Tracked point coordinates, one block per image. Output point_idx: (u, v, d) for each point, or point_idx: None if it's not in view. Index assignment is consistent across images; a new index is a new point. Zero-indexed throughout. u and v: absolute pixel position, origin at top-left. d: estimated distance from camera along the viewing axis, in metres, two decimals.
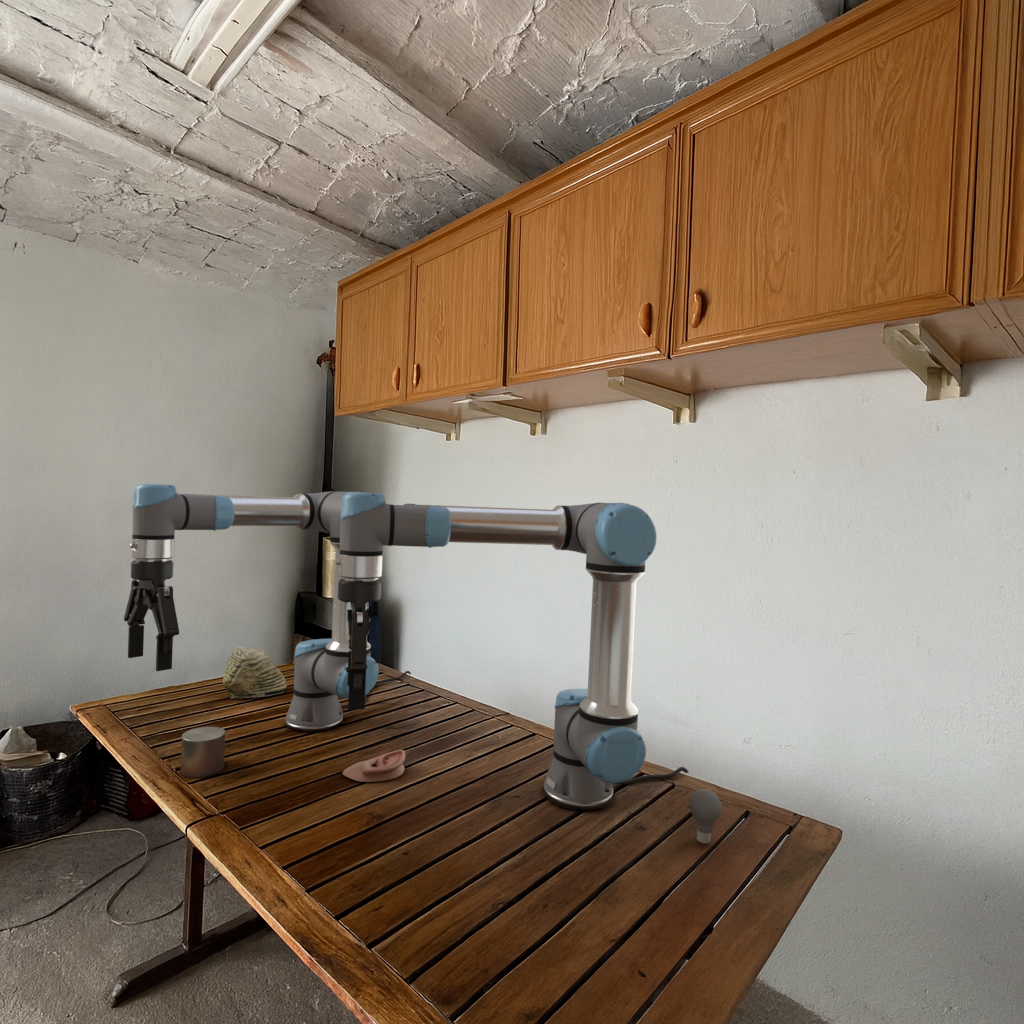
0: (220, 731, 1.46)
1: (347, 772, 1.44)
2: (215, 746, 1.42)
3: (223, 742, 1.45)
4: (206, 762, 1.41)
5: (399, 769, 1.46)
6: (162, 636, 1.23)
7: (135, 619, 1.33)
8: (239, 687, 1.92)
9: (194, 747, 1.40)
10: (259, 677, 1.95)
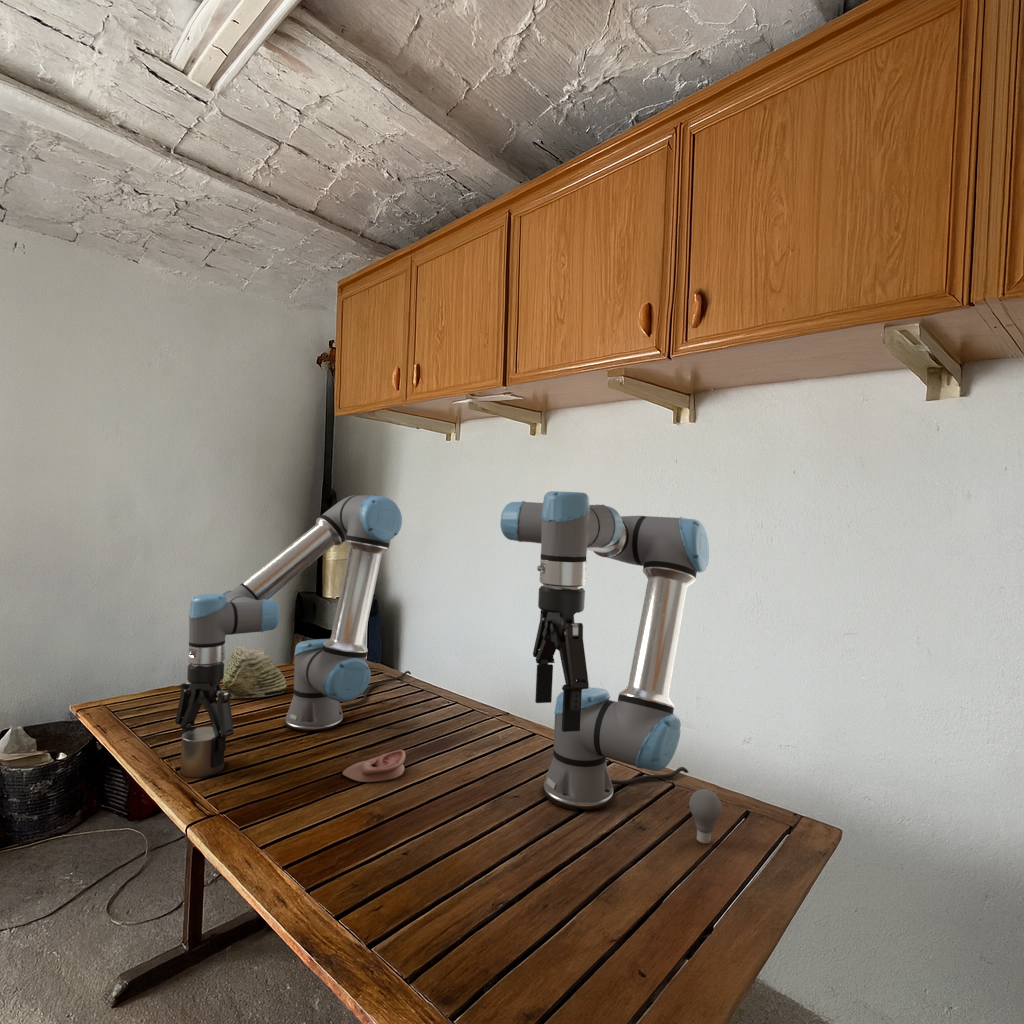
0: None
1: (347, 772, 1.44)
2: None
3: None
4: (206, 762, 1.41)
5: (399, 769, 1.46)
6: (218, 738, 1.41)
7: (189, 721, 1.46)
8: (239, 687, 1.92)
9: (194, 747, 1.40)
10: (259, 677, 1.95)
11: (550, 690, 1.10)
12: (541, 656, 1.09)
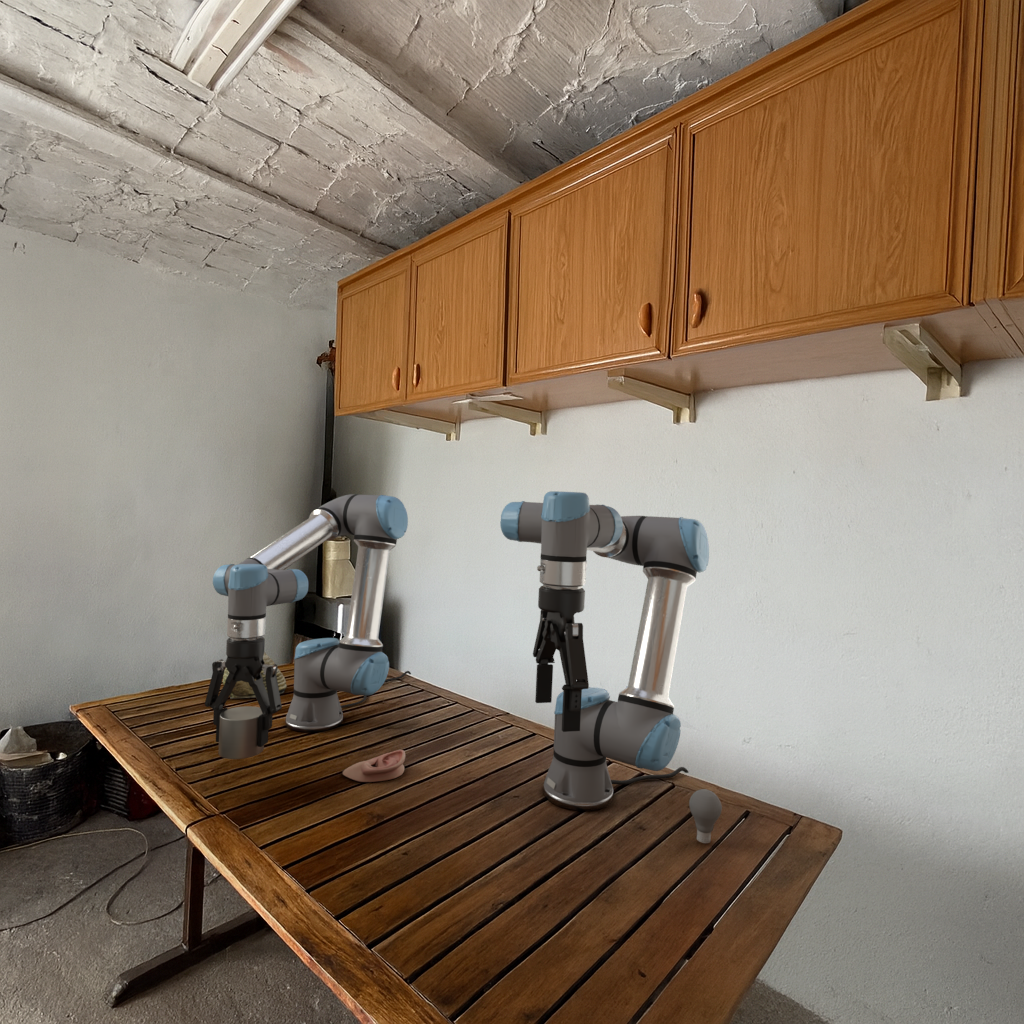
0: (258, 709, 1.38)
1: (347, 772, 1.44)
2: None
3: None
4: (253, 742, 1.32)
5: (399, 769, 1.46)
6: (267, 714, 1.33)
7: (222, 701, 1.35)
8: (239, 687, 1.92)
9: (241, 726, 1.31)
10: None
11: (550, 690, 1.10)
12: (541, 656, 1.09)
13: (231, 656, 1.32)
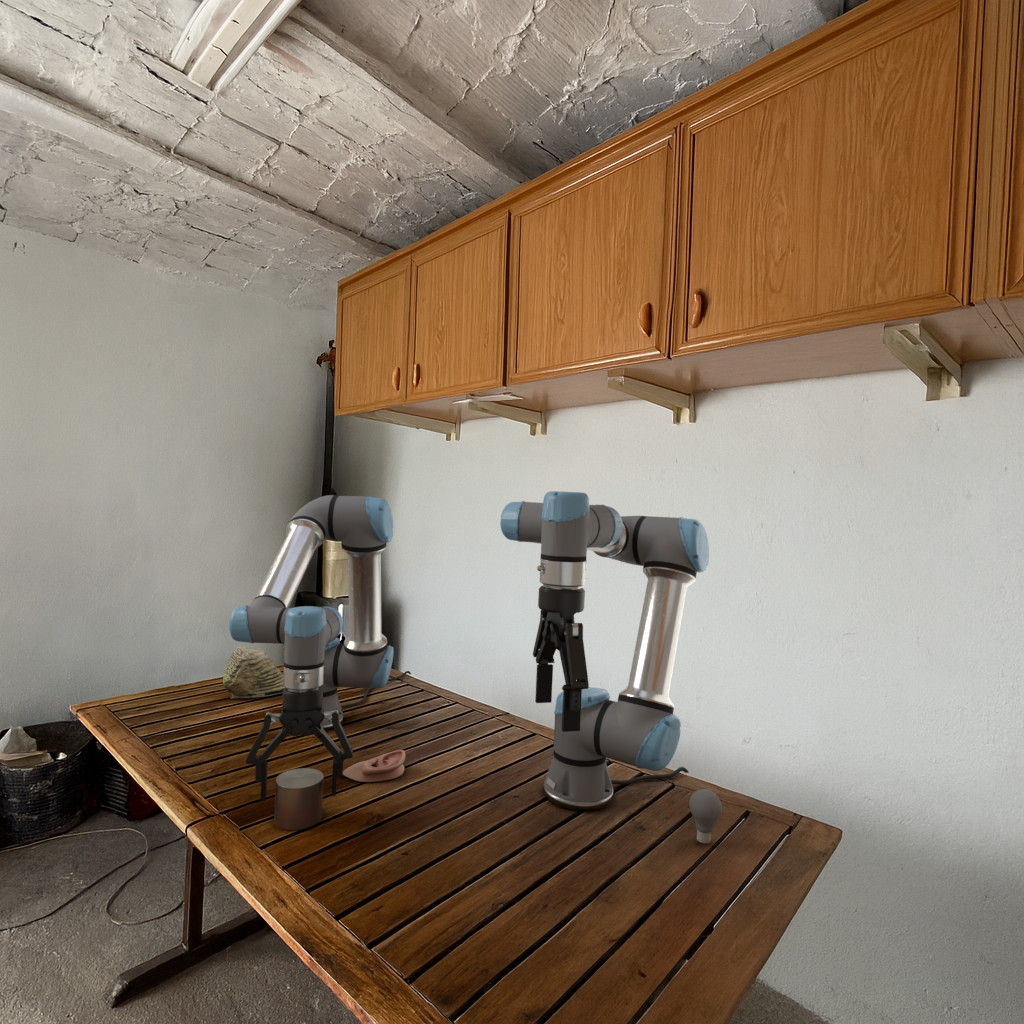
0: (311, 770, 1.28)
1: (347, 772, 1.44)
2: None
3: None
4: (319, 807, 1.23)
5: (399, 769, 1.46)
6: (342, 759, 1.25)
7: None
8: (239, 687, 1.92)
9: (309, 792, 1.21)
10: (259, 677, 1.95)
11: (550, 690, 1.10)
12: (541, 656, 1.09)
13: (296, 710, 1.20)
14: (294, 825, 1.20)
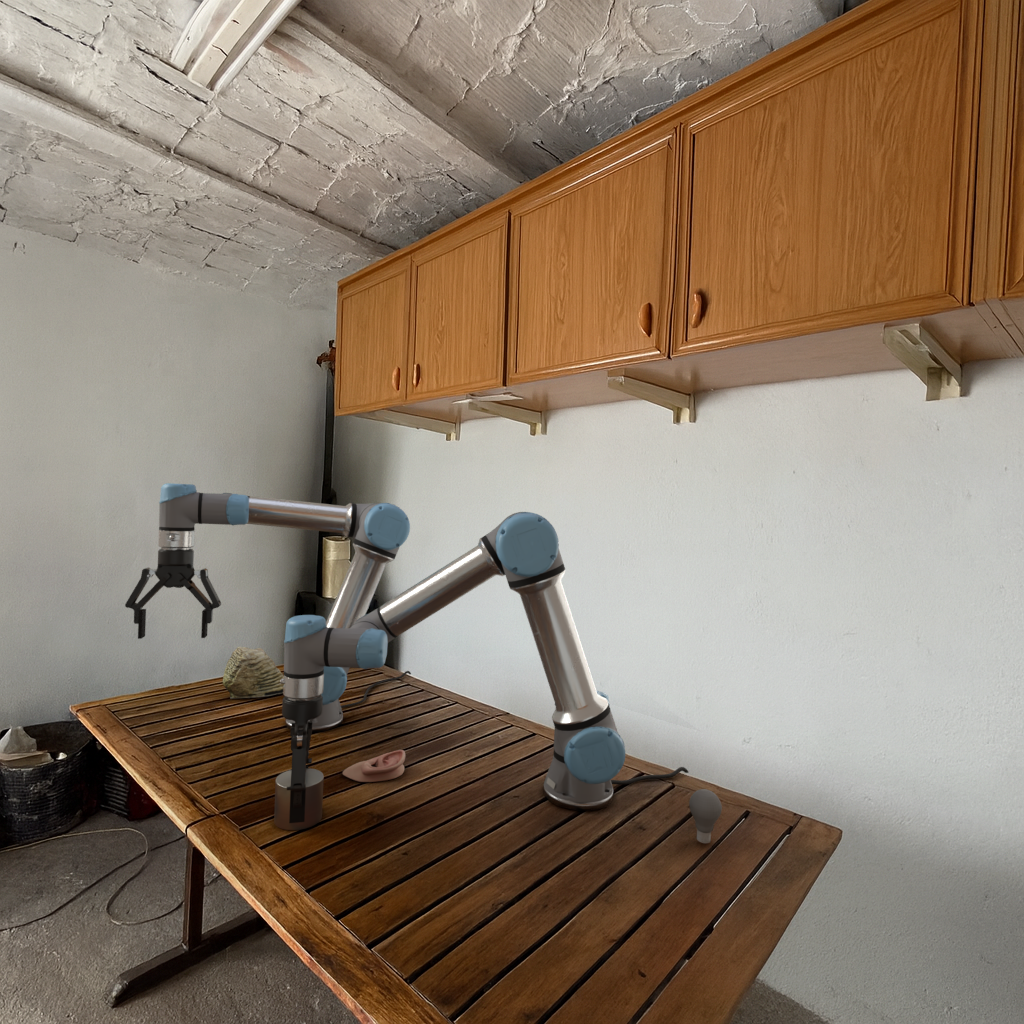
0: (311, 770, 1.28)
1: (347, 772, 1.44)
2: None
3: None
4: (319, 807, 1.23)
5: (399, 769, 1.46)
6: (210, 608, 1.52)
7: (144, 603, 1.49)
8: (239, 687, 1.92)
9: (309, 792, 1.21)
10: (259, 677, 1.95)
11: None
12: None
13: (167, 564, 1.47)
14: (294, 825, 1.20)
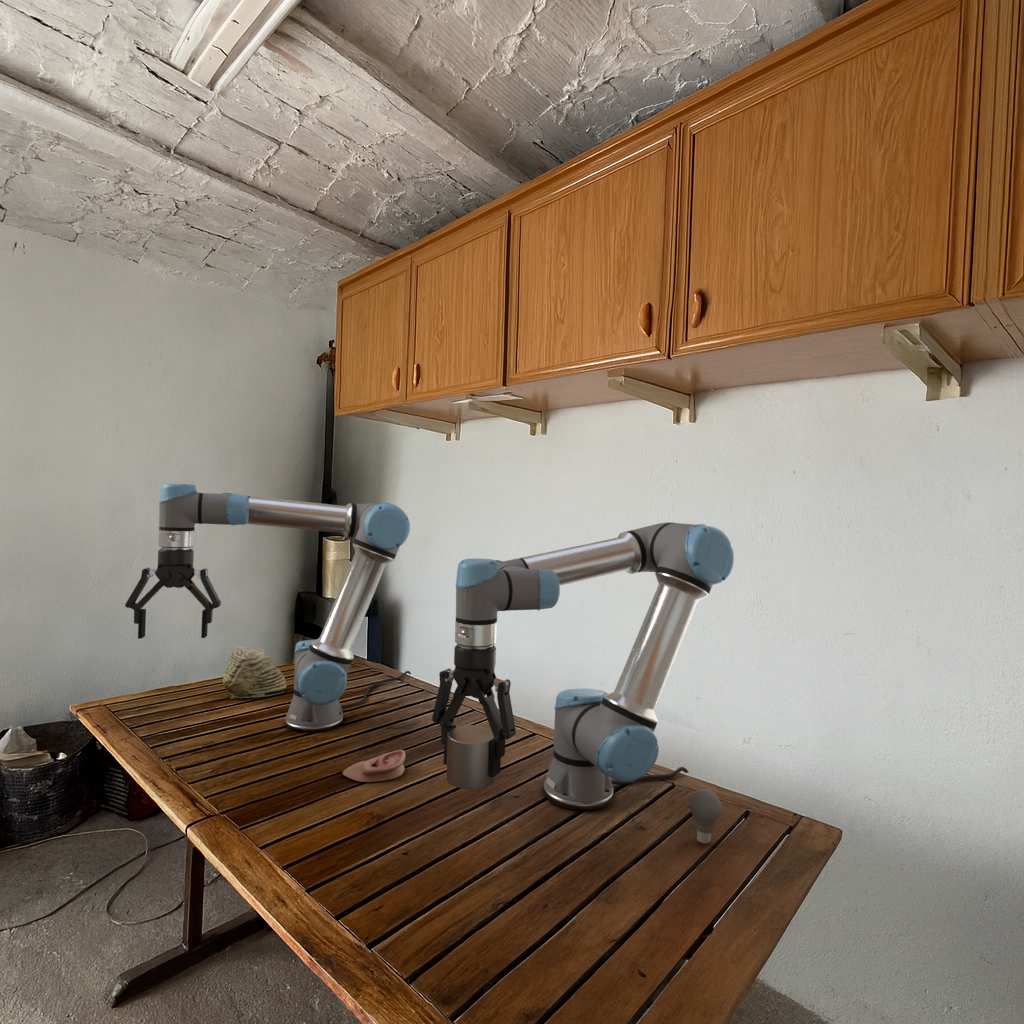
0: (465, 727, 1.18)
1: (347, 772, 1.44)
2: None
3: None
4: None
5: (399, 769, 1.46)
6: (210, 608, 1.52)
7: (144, 603, 1.49)
8: (239, 687, 1.92)
9: None
10: (259, 677, 1.95)
11: None
12: (449, 718, 1.16)
13: (167, 564, 1.47)
14: (491, 779, 1.12)
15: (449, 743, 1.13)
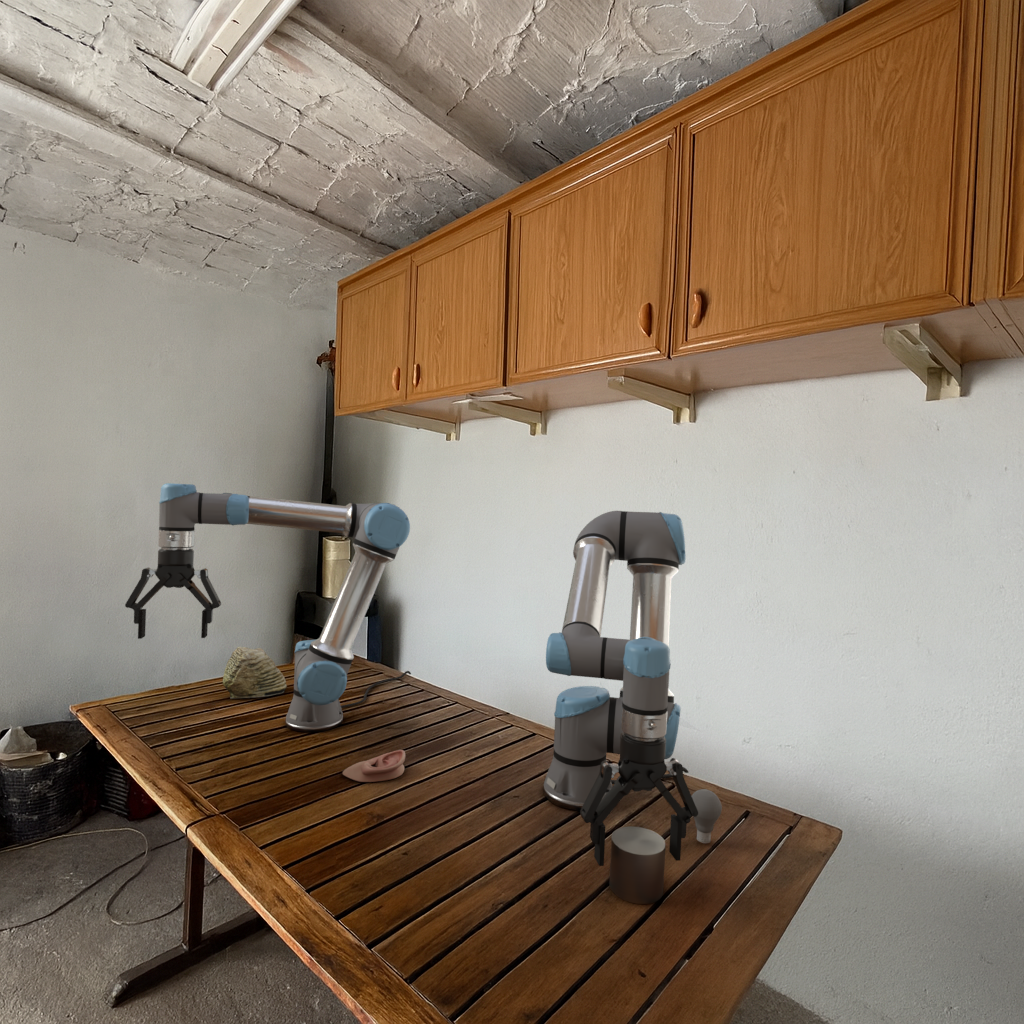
0: (618, 834, 1.08)
1: (347, 772, 1.44)
2: None
3: None
4: None
5: (399, 769, 1.46)
6: (210, 608, 1.52)
7: (144, 603, 1.49)
8: (239, 687, 1.92)
9: None
10: (259, 677, 1.95)
11: None
12: None
13: (167, 564, 1.47)
14: None
15: (632, 859, 1.03)
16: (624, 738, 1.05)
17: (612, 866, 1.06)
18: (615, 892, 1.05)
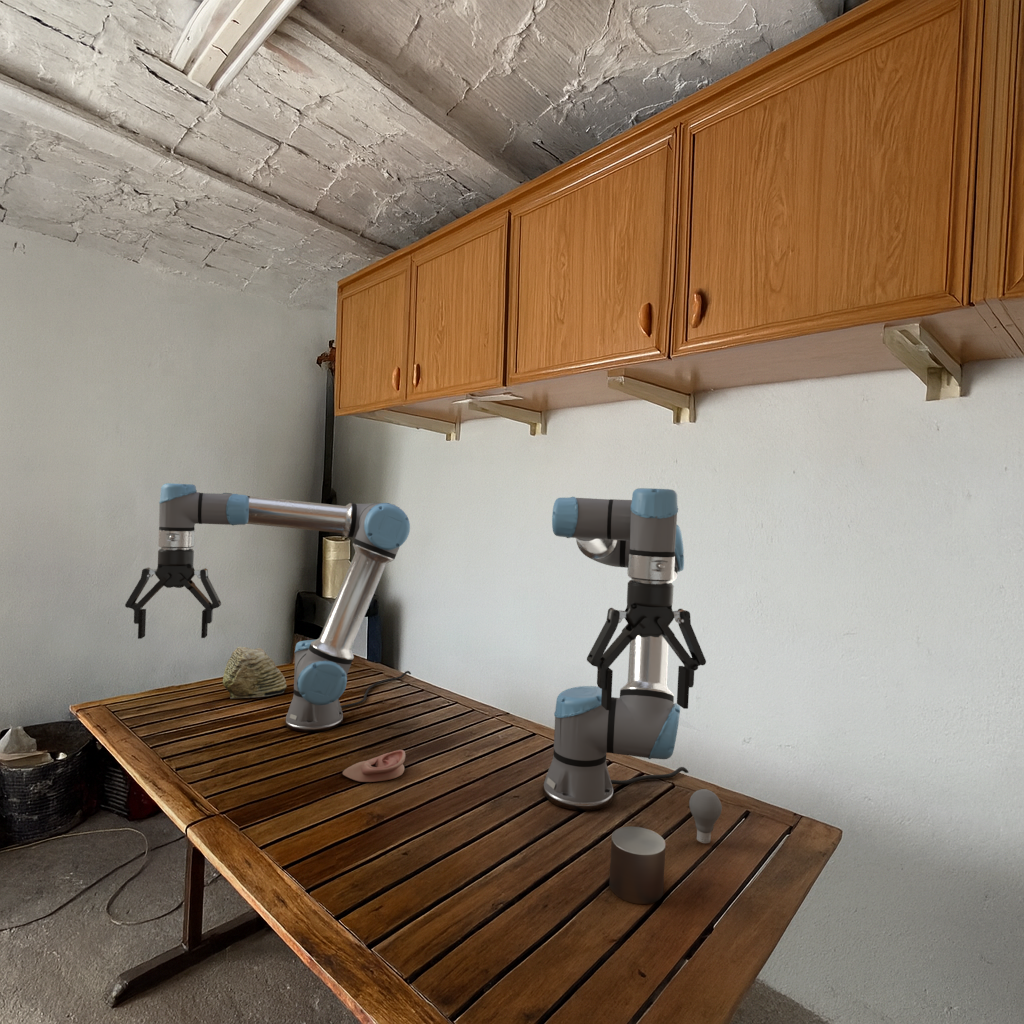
0: (618, 834, 1.08)
1: (347, 772, 1.44)
2: None
3: None
4: None
5: (399, 769, 1.46)
6: (210, 608, 1.52)
7: (144, 603, 1.49)
8: (239, 687, 1.92)
9: None
10: (259, 677, 1.95)
11: None
12: None
13: (167, 564, 1.47)
14: None
15: (632, 859, 1.03)
16: (631, 583, 1.05)
17: (612, 866, 1.06)
18: (615, 892, 1.05)
